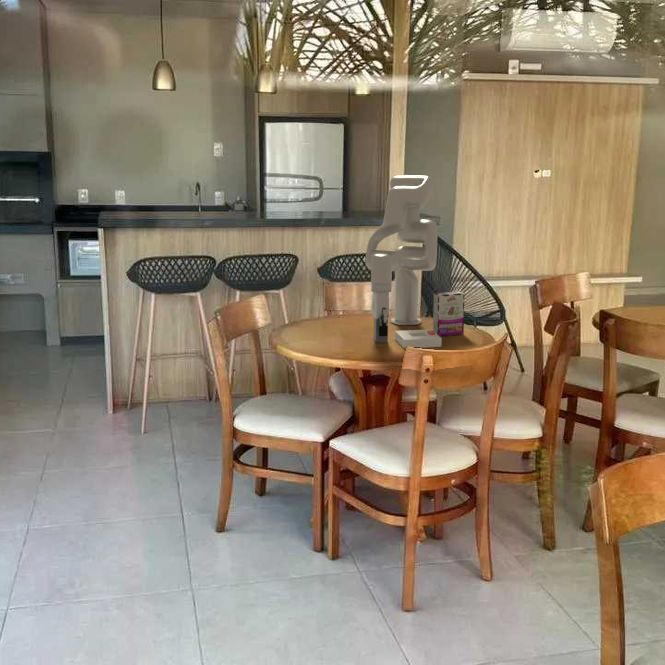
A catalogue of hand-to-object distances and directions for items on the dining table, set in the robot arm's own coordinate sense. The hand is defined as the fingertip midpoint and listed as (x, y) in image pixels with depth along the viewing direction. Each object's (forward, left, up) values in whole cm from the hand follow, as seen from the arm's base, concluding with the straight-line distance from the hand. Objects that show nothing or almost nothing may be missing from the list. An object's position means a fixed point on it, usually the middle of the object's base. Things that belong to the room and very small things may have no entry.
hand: (380, 333), depth 287 cm
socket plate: (+5, +13, -3) cm, 14 cm away
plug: (0, 0, -3) cm, 3 cm away
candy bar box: (-6, +28, -3) cm, 29 cm away
